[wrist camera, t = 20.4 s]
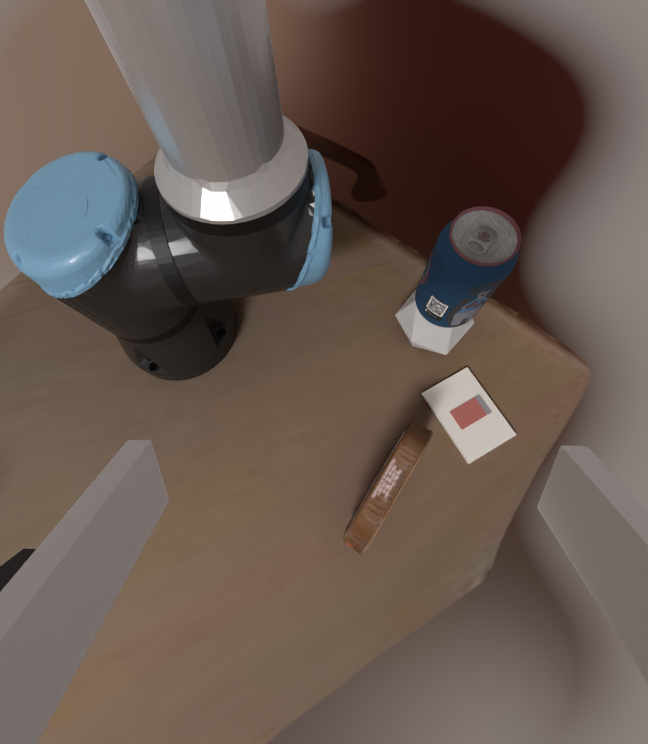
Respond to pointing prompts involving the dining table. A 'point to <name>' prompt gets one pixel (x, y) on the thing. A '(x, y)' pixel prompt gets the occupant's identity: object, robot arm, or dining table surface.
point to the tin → (386, 487)
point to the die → (428, 329)
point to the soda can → (467, 265)
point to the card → (468, 415)
